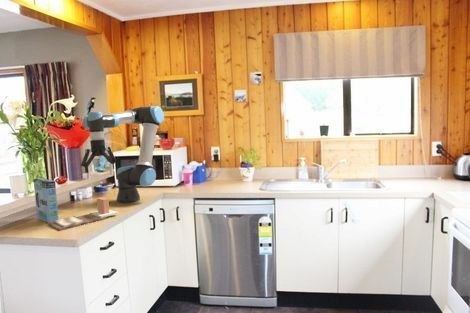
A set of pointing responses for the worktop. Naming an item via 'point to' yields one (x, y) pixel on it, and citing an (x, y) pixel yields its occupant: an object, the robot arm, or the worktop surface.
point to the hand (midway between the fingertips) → (100, 176)
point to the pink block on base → (103, 208)
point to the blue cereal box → (46, 200)
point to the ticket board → (74, 221)
